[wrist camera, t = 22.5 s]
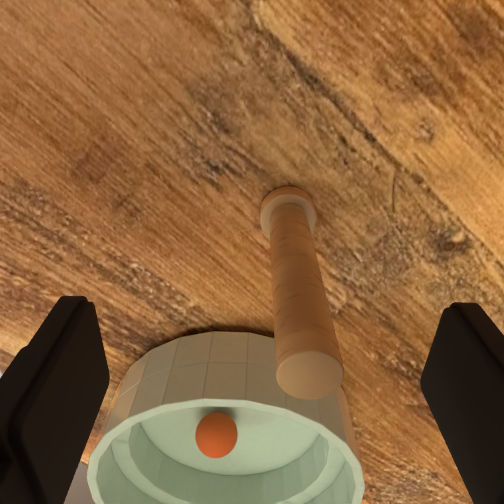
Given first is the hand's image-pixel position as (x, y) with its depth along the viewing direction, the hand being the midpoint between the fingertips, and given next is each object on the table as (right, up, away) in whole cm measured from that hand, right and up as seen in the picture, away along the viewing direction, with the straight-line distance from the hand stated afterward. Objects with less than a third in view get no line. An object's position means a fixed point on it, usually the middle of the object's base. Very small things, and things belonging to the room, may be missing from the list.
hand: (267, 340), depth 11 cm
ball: (-3, -11, +18) cm, 21 cm away
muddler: (+2, +5, +11) cm, 12 cm away
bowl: (-2, -10, +20) cm, 22 cm away
